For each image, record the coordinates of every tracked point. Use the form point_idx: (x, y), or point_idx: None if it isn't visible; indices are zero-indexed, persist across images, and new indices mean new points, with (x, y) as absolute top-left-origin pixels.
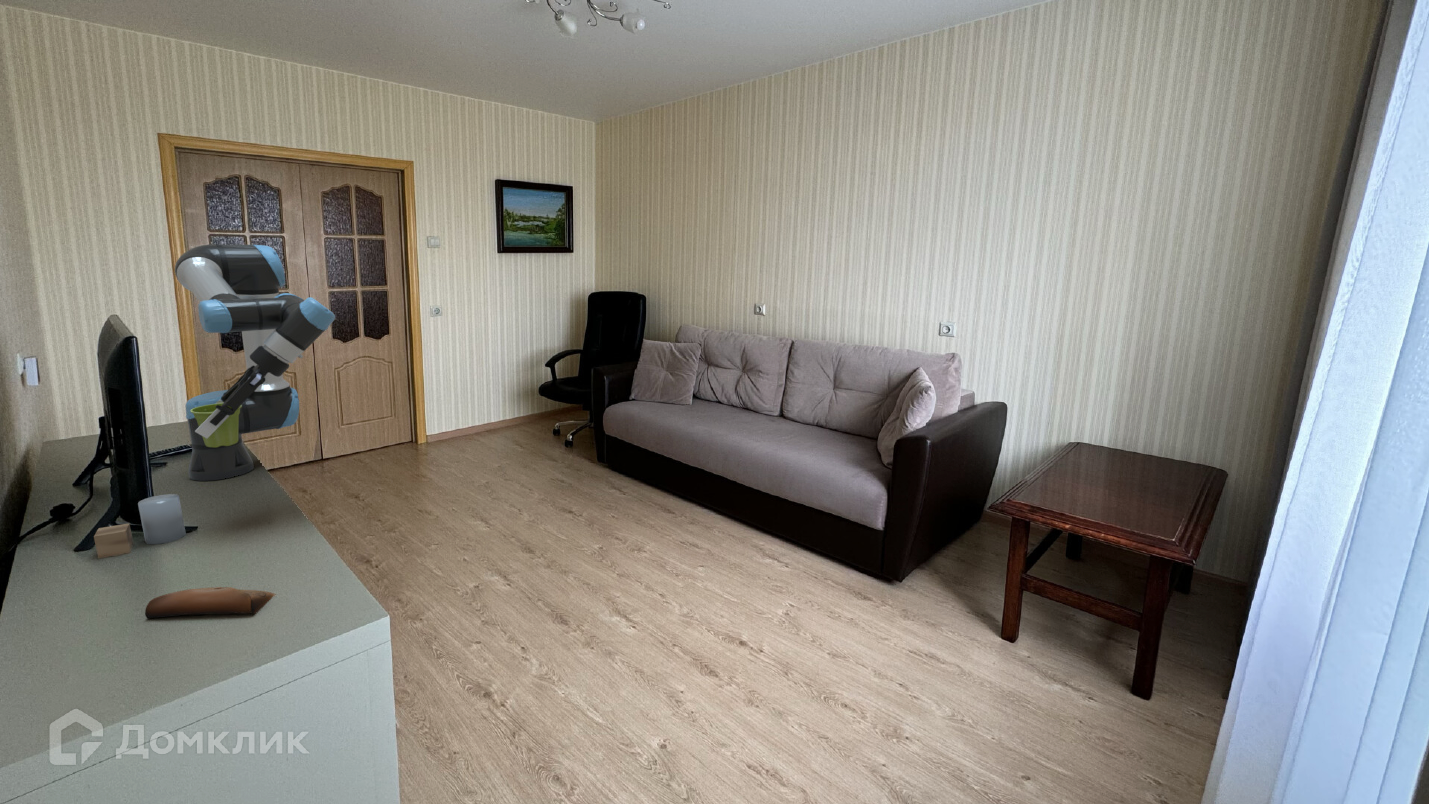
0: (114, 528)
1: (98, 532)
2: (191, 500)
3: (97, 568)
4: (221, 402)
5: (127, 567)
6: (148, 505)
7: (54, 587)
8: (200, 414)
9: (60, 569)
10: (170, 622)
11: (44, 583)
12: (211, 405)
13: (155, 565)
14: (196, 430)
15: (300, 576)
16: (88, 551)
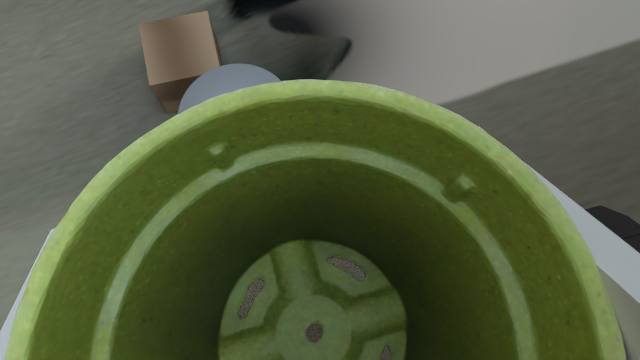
0: (188, 49)
1: (170, 22)
2: (567, 123)
3: (87, 81)
4: (631, 333)
5: (59, 145)
6: (180, 106)
7: (6, 39)
8: (82, 243)
9: (120, 8)
10: None
11: (43, 11)
12: (541, 226)
13: (39, 207)
14: (46, 241)
15: None
16: (220, 20)
